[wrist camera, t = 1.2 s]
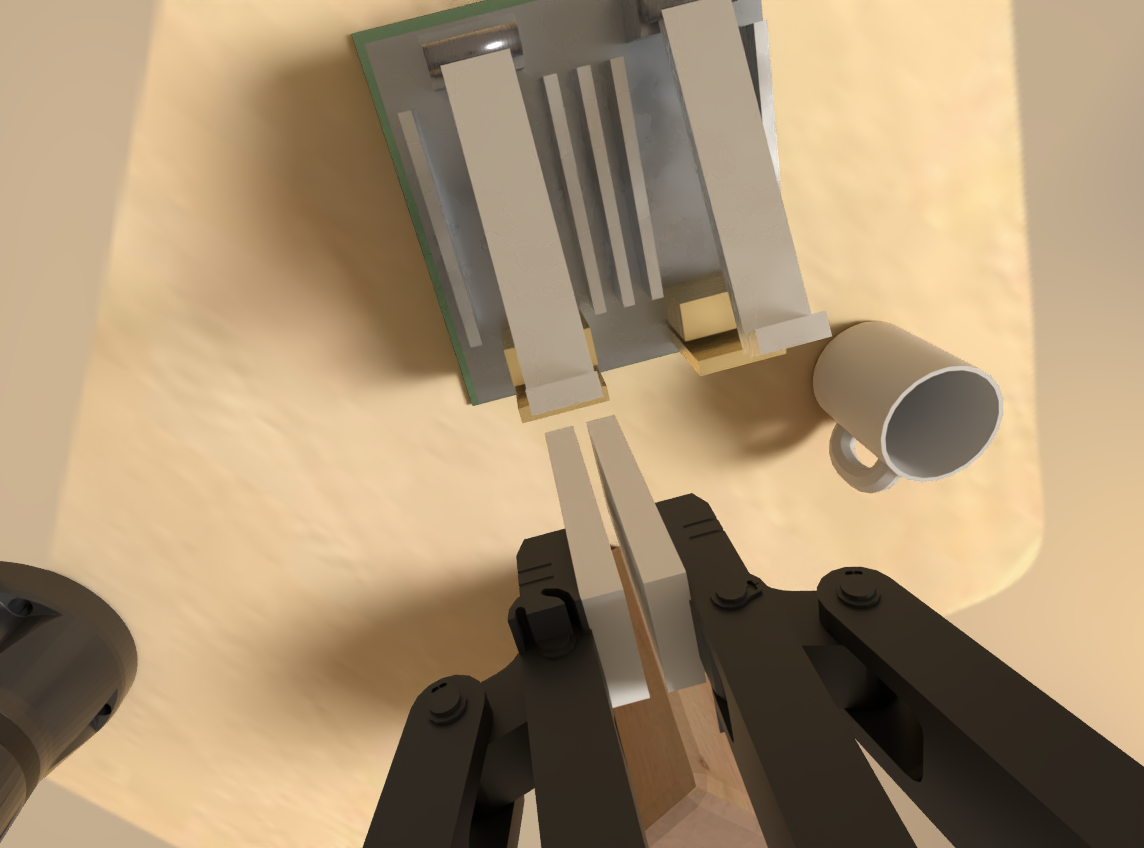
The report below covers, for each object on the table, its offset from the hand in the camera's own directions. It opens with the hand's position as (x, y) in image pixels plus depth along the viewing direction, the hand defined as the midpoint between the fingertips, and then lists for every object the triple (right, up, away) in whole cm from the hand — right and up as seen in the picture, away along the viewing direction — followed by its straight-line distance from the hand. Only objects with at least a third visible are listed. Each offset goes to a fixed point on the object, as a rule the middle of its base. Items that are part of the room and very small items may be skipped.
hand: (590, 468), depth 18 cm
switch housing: (0, +15, +20) cm, 25 cm away
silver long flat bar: (+6, +12, +10) cm, 16 cm away
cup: (+19, +4, +28) cm, 34 cm away
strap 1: (-3, +9, +10) cm, 14 cm away
